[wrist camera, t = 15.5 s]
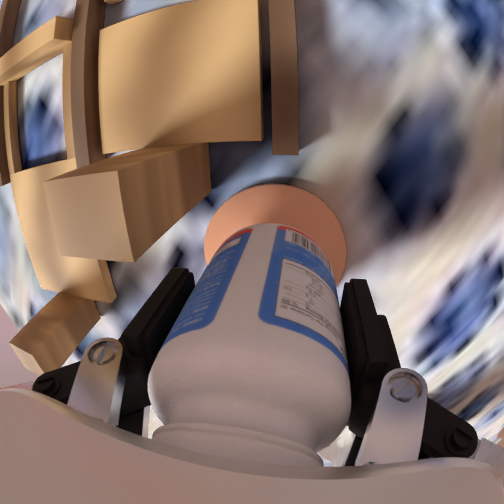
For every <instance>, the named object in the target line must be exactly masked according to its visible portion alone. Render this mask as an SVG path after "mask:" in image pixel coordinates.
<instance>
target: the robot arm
mask: <svg viewBox="0 0 504 504" xmlns="http://www.w3.org/2000/svg"><path fill="white" fill-rule="evenodd" d="M194 288H195V282H194V276H193V273H192V272H189V270H188V269H187V268H176V267H174V268H172V269H171V270H170V272H169V273H168V274H167V275H166V277H165V278H164V279H163V281H162V282H161V283H160V284H159V286H158V287H157V288H156V289H155V291H154V292H153V293H152V295H151V296H150V297H149V299H148V300H147V301H146V302H145V304H144V305H143V306H142V308H141V309H140V310H139V312H138V313H137V314H136V316H135V317H134V318H133V320H132V321H131V322H130V324H129V325H128V326H127V328H126V329H125V330H124V332H123V333H122V335H121V337H120V338H119V339H118V340H116V339H114V338H101V339H98V340H96V341H94V342H92V343H91V344H90V345H89V346H88V347H87V348H86V350H85V352H84V354H83V357H82V360H81V361H79V362H76V363H73V364H70V365H67V366H64V367H61V368H58V369H55V370H52V371H49V372H46V373H44V374H42V375H41V376H39V377H38V378H37V380H36V381H35V382H34V383H33V382H32V381H31V382H27V383H23V384H18V385H14V386H10V387H5V388H0V504H504V448H502V447H501V446H499V445H497V444H495V443H493V442H491V441H489V440H487V439H485V438H482V439H481V440H479V439H478V437H477V433H476V431H475V429H474V428H473V427H472V426H471V425H470V424H469V423H467V422H466V421H464V420H462V419H461V418H459V417H458V416H456V415H454V414H453V413H451V412H450V411H448V410H447V409H445V408H443V407H442V406H440V405H439V404H437V403H436V402H434V401H433V400H431V399H429V398H428V397H427V393H428V389H427V384H426V382H425V379H424V378H423V377H422V376H421V375H420V374H419V373H417V372H416V371H414V370H411V369H408V368H401V366H400V362H399V359H398V355H397V351H396V348H395V344H394V341H393V338H392V334H391V331H390V328H389V325H388V321H387V318H386V316H384V315H377V313H376V309H375V306H374V303H373V300H372V296H371V293H370V290H369V287H368V284H367V281H366V280H365V279H351V280H350V283H347V282H345V284H344V289H343V295H342V300H341V306H340V312H341V317H342V324H343V331H344V338H345V345H346V353H347V360H348V368H349V378H350V390H351V413H350V417H349V420H348V423H347V425H346V427H345V428H344V430H343V431H342V433H341V434H340V435H339V437H338V438H337V439H336V440H335V441H334V442H332V443H331V444H330V445H329V446H327V447H326V448H324V449H322V450H321V451H319V452H318V453H319V454H320V455H321V456H322V457H324V458H325V459H327V460H330V461H332V467H309V466H289V465H276V464H266V463H257V462H249V461H242V460H236V459H230V458H224V457H219V456H213V455H209V454H204V453H199V452H195V451H191V450H187V449H183V448H179V447H175V446H172V445H168V444H165V443H161V442H158V441H155V440H152V439H149V438H148V424H149V410H150V406H149V405H151V402H150V399H149V394H148V377H149V373H150V370H151V368H152V365H153V363H154V361H155V359H156V357H157V355H158V353H159V351H160V349H161V347H162V345H163V343H164V342H165V340H166V338H167V336H168V334H169V333H170V331H171V329H172V327H173V325H174V323H175V322H176V320H177V318H178V316H179V314H180V313H181V311H182V309H183V307H184V305H185V304H186V302H187V300H188V298H189V296H190V295H191V293H192V291H193V290H194Z"/></svg>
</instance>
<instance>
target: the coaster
mask: <svg viewBox="0 0 504 504" xmlns="http://www.w3.org/2000/svg"><path fill="white" fill-rule="evenodd" d="M261 223H276V224H283V225H287V226H290V227H293V228H296V229H298V230H300V231H302V232H304V233H305V234H307V235H309V236H310V237H311V238H313V239H314V240H315V241H316V242H317V243H318V244H319V245H320V246H321V248H322V249H323V250H324V252H325V253H326V255H327V256H328V258H329V261H330V263H331V266H332V269H333V273H334V278H335V284H336V286H337V285H338V283H339V281H340V279H341V277H342V275H343V272H344V270H345V265H346V259H347V247H346V241H345V236H344V233H343V230H342V228H341V225H340V223H339V221H338V219H337V217H336V216H335V214H334V213H333V212H332V210H331V209H330V208H329V207H328V206H327V205H326V204H325V203H324V202H323V201H322V200H321V199H319V198H318V197H317V196H315V195H314V194H312V193H310V192H308V191H306V190H304V189H301V188H299V187H296V186H292V185H287V184H279V183H268V184H260V185H255V186H252V187H249V188H246V189H244V190H242V191H240V192H238V193H236V194H235V195H233V196H232V197H230V198H229V199H228V200H227V201H226V202H225V203H224V204H223V205H222V206H221V207H220V208H219V209H218V211H217V212H216V213H215V214H214V216H213V218H212V219H211V221H210V223H209V226H208V228H207V232H206V236H205V243H204V251H205V259H206V263H207V266H208V264H209V262H210V261H211V259H212V257H213V256H214V254H215V252H216V251H217V250H218V248H219V247H220V246H221V244H222V243H223V242H224V241H225V240H226V239H227V238H228V237H229V236H231V235H232V234H234V233H235V232H237V231H238V230H240V229H242V228H245V227H248V226H251V225H255V224H261Z"/></svg>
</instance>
